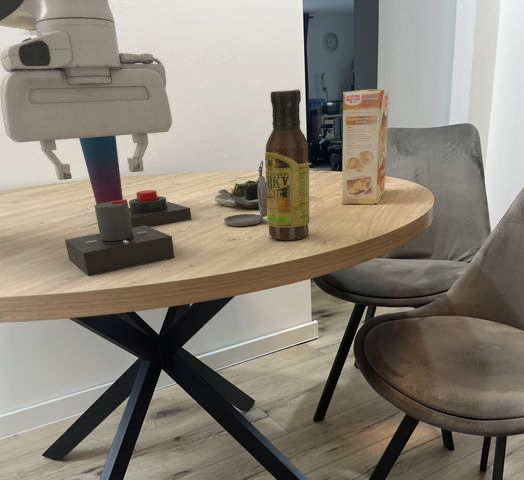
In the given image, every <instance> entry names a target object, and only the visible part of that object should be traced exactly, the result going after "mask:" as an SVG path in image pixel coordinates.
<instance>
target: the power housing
mask: <svg viewBox="0 0 524 480" xmlns="http://www.w3.org/2000/svg"><path fill="white" fill-rule="evenodd" d="M157 198H158V199H157V200H153V201H144V202H138V200H137V197H136V198H132V199H130V200H129V201H128V206H129V212H130V218H131V224H132V228H133V227H139V226H144V225H146V226H148V227H151V228H154V227H159V226H165V225H170V224H175V223H176V224H177V223H180V222H181V223H182V222H188V221H192V212H191V208H190V207H188V206H184V205H181V204H178V203H174V202H171V201H167V197H166V196H160V195H159V196H158V195H157Z"/></svg>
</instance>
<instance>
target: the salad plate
mask: <svg viewBox="0 0 524 480" xmlns="http://www.w3.org/2000/svg"><path fill="white" fill-rule="evenodd" d="M217 192H218V194H217V195H215V196H214V202H216V203H218V204H220V205H222V206H224V207H229V208H235V209H240V210H249V211H254V210H255V211H256V210H257V211H259V206H258V195H257V180H256V181H254V180H250V179H247V181H245V182H243V183H238V182H234V186H233V187H231V188H230V192H229V191H228V190H227V189H219V190H218V191H217Z"/></svg>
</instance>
